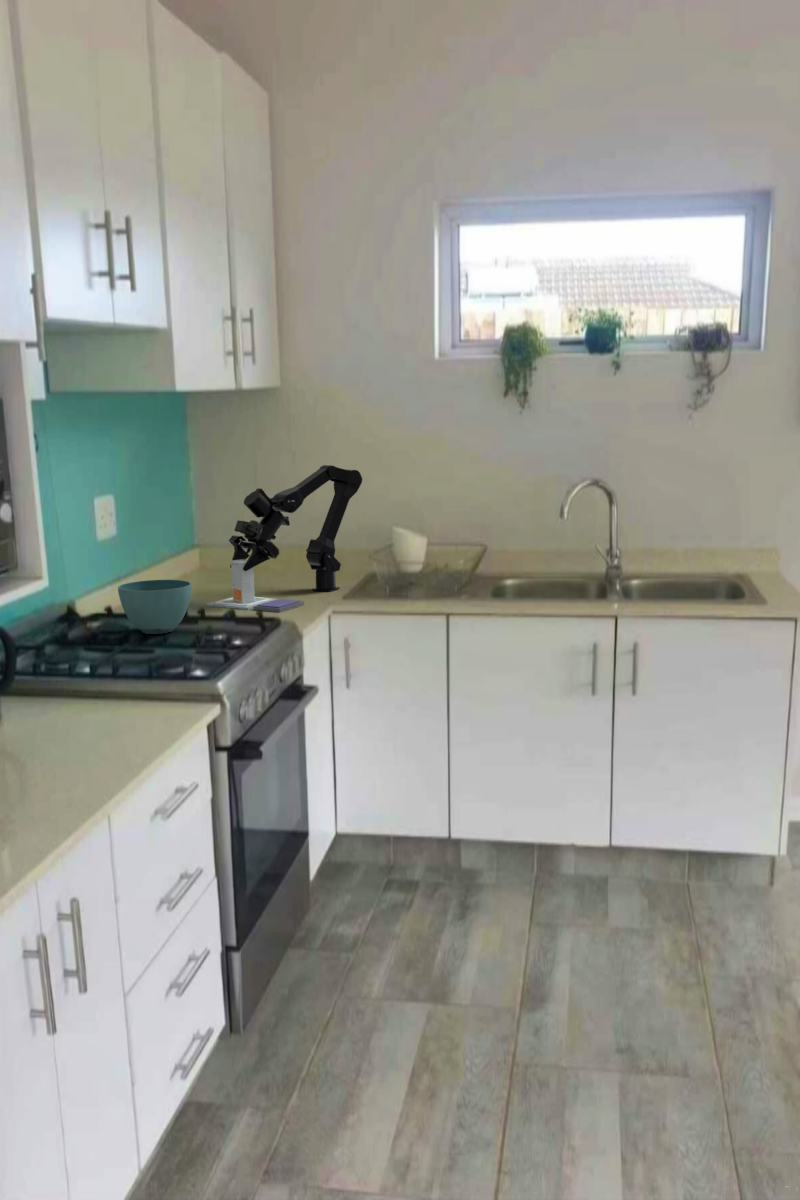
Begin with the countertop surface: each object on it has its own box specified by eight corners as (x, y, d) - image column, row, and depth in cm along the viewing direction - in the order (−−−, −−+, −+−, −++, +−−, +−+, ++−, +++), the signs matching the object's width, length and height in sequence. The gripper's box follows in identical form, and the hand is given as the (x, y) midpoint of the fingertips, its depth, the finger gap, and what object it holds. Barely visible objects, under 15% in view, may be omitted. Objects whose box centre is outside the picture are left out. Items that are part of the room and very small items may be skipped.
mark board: (238, 597, 313) (238, 594, 313) (279, 600, 306) (279, 597, 306) (206, 605, 300) (206, 602, 300) (248, 609, 293) (248, 606, 293)
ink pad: (278, 602, 303) (278, 598, 303) (304, 604, 299) (303, 600, 299) (253, 609, 293) (253, 605, 293) (279, 612, 289) (279, 607, 288)
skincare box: (232, 600, 304) (230, 560, 302) (245, 599, 307) (243, 558, 305) (242, 603, 299) (240, 562, 297) (255, 601, 302) (253, 561, 300)
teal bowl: (134, 624, 276) (130, 579, 273) (201, 624, 274) (198, 578, 272) (111, 639, 258) (107, 591, 256) (183, 639, 257) (180, 590, 254)
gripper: (232, 508, 308) (202, 548, 302) (268, 511, 294) (238, 554, 289) (255, 532, 314) (226, 572, 309) (292, 536, 301) (262, 579, 295)
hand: (237, 569), depth 300 cm, fingers open, 6 cm apart
